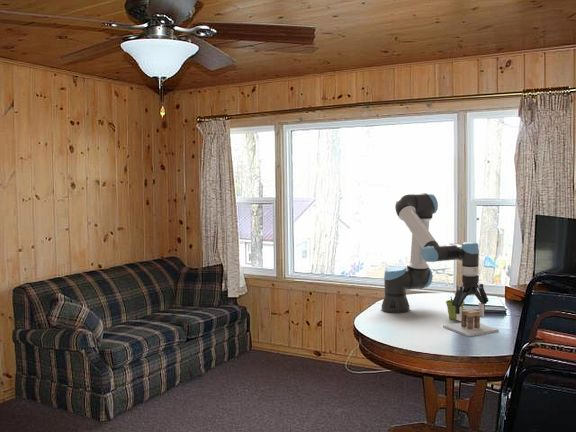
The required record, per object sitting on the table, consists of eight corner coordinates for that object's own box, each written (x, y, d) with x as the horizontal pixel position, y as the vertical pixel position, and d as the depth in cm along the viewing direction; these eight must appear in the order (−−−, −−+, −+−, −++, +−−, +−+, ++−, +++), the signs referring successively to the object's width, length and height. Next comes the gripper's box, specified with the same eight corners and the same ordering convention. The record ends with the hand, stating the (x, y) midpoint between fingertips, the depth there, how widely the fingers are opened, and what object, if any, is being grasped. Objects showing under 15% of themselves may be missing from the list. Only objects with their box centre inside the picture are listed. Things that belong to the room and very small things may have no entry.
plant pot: (465, 321, 288) (465, 304, 288) (446, 320, 290) (446, 303, 290) (463, 316, 298) (463, 300, 297) (445, 315, 299) (445, 299, 299)
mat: (442, 327, 278) (442, 325, 278) (471, 322, 286) (471, 320, 286) (468, 336, 262) (468, 334, 262) (498, 331, 269) (498, 329, 269)
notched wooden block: (461, 326, 275) (461, 310, 275) (471, 324, 278) (471, 308, 277) (469, 329, 270) (469, 312, 269) (479, 327, 272) (479, 311, 271)
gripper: (454, 278, 263) (454, 323, 265) (496, 273, 273) (496, 317, 275) (444, 276, 270) (444, 320, 272) (484, 271, 280) (484, 313, 282)
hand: (470, 318), depth 273 cm, fingers open, 13 cm apart
